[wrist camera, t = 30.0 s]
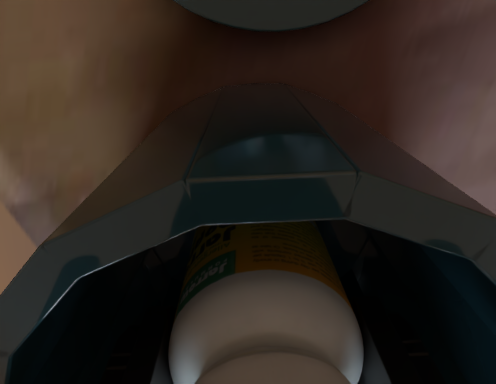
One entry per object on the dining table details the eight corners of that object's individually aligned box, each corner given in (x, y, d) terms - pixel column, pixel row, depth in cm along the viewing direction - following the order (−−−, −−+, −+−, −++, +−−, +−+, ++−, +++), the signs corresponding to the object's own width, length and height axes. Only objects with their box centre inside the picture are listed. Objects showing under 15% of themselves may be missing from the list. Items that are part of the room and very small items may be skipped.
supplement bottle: (282, 300, 18) (322, 565, 9) (177, 260, 17) (104, 513, 8) (339, 208, 16) (466, 427, 7) (225, 158, 15) (202, 336, 6)
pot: (151, 319, 21) (55, 613, 10) (107, 90, 16) (-167, 196, 5) (374, 309, 21) (512, 596, 10) (399, 75, 16) (720, 152, 5)
